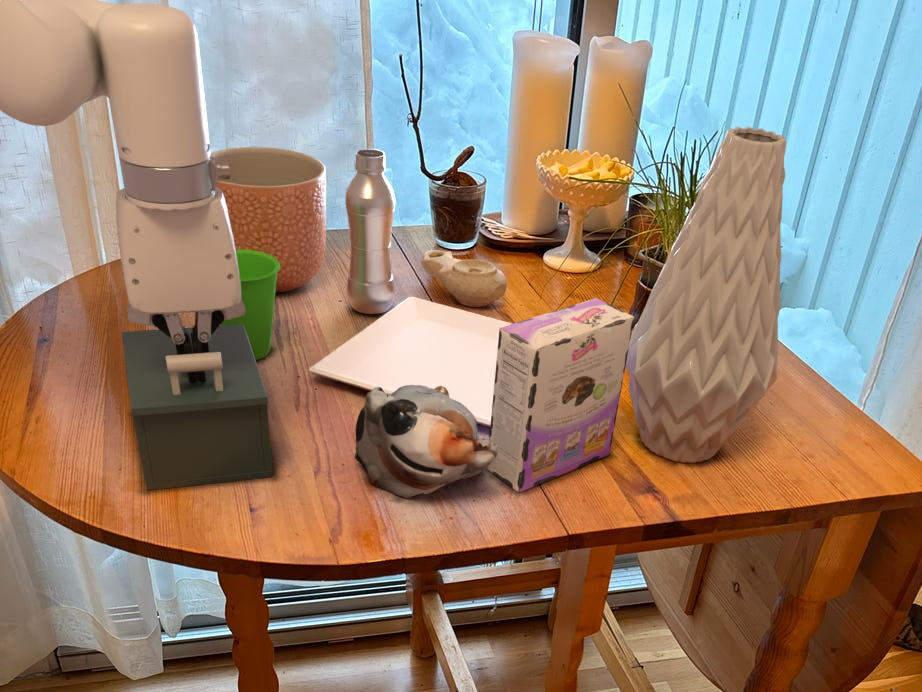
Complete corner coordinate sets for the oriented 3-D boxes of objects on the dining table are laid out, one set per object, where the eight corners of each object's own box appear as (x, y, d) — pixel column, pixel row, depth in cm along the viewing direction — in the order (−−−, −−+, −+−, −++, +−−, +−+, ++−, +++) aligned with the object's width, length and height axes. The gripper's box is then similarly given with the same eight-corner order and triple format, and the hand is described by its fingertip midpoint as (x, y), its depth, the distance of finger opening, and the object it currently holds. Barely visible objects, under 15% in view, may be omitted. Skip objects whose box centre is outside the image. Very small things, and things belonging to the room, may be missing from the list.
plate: (585, 356, 125) (587, 341, 124) (505, 444, 107) (507, 428, 106) (409, 309, 132) (410, 294, 131) (307, 384, 114) (306, 368, 113)
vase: (776, 479, 106) (882, 164, 84) (636, 486, 103) (708, 160, 81) (719, 405, 118) (799, 112, 96) (592, 409, 115) (644, 107, 93)
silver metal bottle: (403, 308, 132) (407, 153, 119) (375, 324, 128) (376, 165, 114) (366, 295, 134) (365, 141, 121) (337, 311, 130) (332, 153, 116)
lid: (268, 404, 92) (264, 360, 89) (132, 416, 89) (123, 370, 86) (244, 330, 104) (240, 289, 100) (122, 338, 100) (114, 296, 97)
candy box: (574, 434, 110) (597, 295, 99) (610, 457, 107) (638, 315, 96) (483, 469, 103) (496, 323, 92) (519, 494, 100) (537, 347, 89)
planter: (335, 303, 132) (332, 187, 121) (209, 305, 128) (195, 186, 118) (322, 256, 144) (318, 147, 134) (206, 257, 140) (193, 145, 130)
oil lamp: (427, 273, 142) (429, 238, 139) (518, 292, 139) (522, 257, 136) (400, 298, 135) (401, 263, 131) (496, 319, 132) (499, 283, 128)
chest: (273, 477, 99) (267, 400, 93) (146, 490, 95) (132, 412, 89) (251, 404, 110) (244, 331, 104) (136, 414, 106) (122, 339, 100)
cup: (234, 375, 114) (225, 284, 107) (198, 345, 119) (187, 257, 112) (299, 357, 119) (294, 269, 112) (262, 330, 124) (255, 244, 116)
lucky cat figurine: (500, 453, 105) (532, 382, 93) (456, 540, 101) (484, 477, 88) (378, 392, 105) (394, 311, 92) (329, 476, 100) (338, 404, 87)
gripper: (250, 162, 86) (266, 353, 98) (74, 166, 82) (114, 364, 94) (263, 190, 81) (278, 387, 93) (76, 195, 77) (118, 401, 89)
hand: (196, 375), depth 94 cm, fingers closed
